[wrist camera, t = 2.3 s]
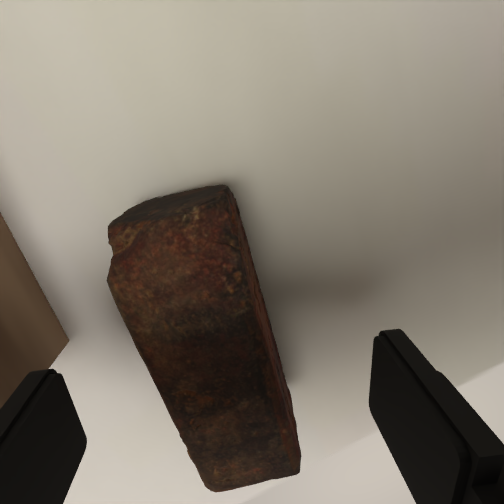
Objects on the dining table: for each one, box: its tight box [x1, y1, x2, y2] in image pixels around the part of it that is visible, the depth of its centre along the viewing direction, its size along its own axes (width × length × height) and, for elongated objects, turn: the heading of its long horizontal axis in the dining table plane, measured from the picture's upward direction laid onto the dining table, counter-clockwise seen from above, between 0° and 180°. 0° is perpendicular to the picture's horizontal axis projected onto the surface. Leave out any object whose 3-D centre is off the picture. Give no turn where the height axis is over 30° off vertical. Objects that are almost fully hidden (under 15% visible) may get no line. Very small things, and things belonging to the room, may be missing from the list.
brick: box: [107, 185, 301, 492], centre depth 12 cm, size 11×4×5 cm, turn 14°
